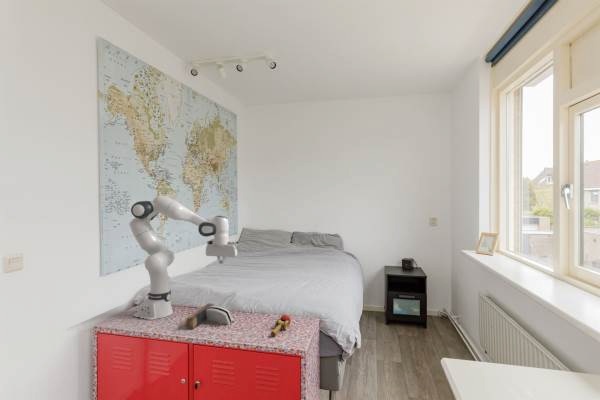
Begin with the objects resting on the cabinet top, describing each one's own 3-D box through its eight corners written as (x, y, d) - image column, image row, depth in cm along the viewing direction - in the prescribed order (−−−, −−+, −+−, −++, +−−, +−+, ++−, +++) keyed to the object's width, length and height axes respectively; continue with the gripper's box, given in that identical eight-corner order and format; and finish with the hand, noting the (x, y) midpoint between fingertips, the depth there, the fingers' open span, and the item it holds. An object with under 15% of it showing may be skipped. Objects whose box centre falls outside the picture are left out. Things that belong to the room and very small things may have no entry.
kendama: (281, 340, 154) (294, 322, 170) (278, 329, 153) (292, 312, 170) (268, 340, 157) (282, 323, 173) (265, 329, 156) (280, 312, 173)
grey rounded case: (234, 321, 175) (231, 307, 172) (229, 327, 171) (225, 312, 168) (212, 316, 182) (208, 302, 179) (207, 322, 178) (203, 308, 175)
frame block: (186, 328, 165) (186, 318, 165) (208, 312, 188) (208, 303, 188) (193, 329, 164) (193, 318, 164) (214, 313, 188) (214, 303, 188)
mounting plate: (197, 326, 168) (197, 314, 168) (211, 315, 184) (211, 304, 184) (197, 326, 168) (197, 314, 168) (211, 315, 184) (211, 304, 184)
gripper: (239, 241, 190) (239, 263, 190) (209, 240, 194) (209, 261, 194) (234, 242, 184) (234, 265, 184) (204, 241, 188) (204, 263, 188)
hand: (221, 263), depth 189 cm, fingers closed
